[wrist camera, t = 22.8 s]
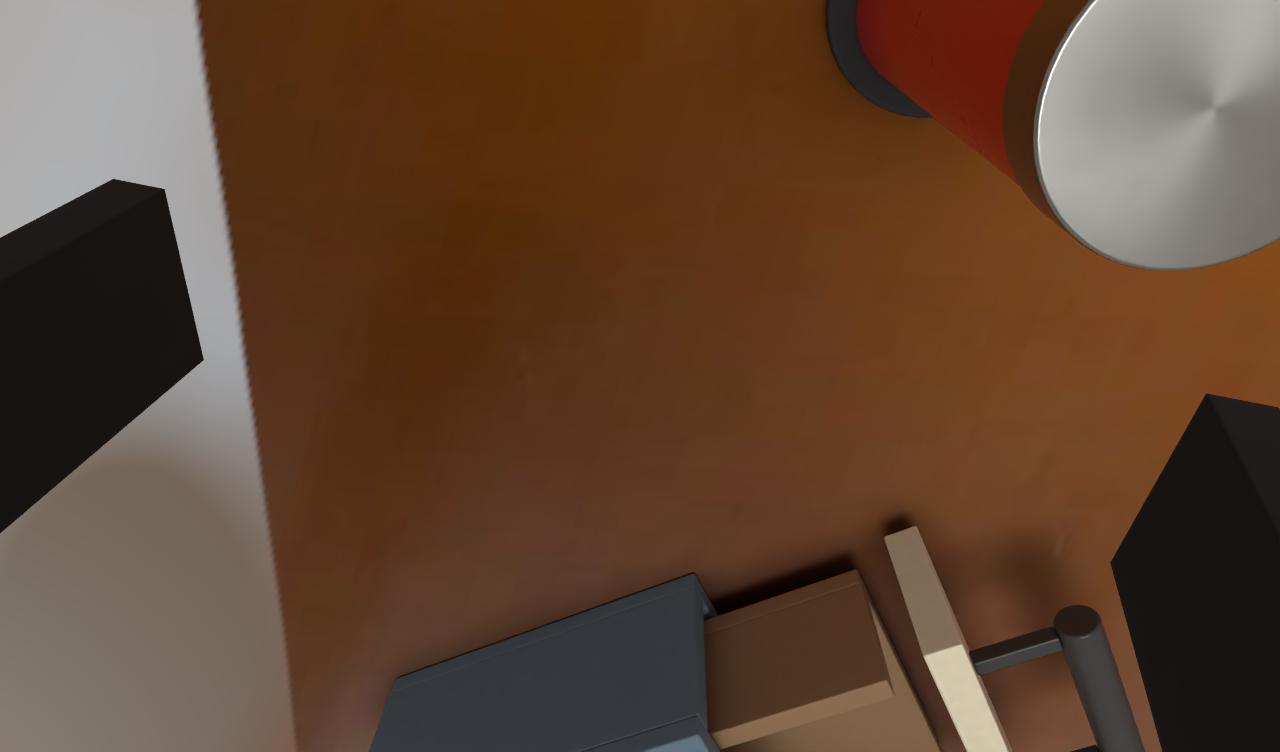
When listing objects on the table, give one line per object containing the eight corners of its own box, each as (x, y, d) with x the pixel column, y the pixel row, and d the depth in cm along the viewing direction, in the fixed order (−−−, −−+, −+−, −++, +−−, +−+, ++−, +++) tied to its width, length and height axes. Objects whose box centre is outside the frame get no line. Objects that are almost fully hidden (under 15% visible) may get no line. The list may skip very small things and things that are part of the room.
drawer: (1035, 483, 31) (1108, 599, 25) (1117, 720, 35) (1192, 857, 30) (600, 634, 34) (587, 761, 29) (729, 829, 39) (737, 967, 34)
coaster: (785, 55, 25) (786, 57, 25) (904, -168, 23) (909, -170, 22) (962, 150, 26) (967, 154, 26) (1095, -53, 24) (1104, -53, 23)
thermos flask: (820, 48, 25) (965, 185, 12) (914, -123, 23) (1199, -166, 10) (959, 124, 26) (1227, 323, 13) (1062, -35, 24) (1491, 22, 11)
